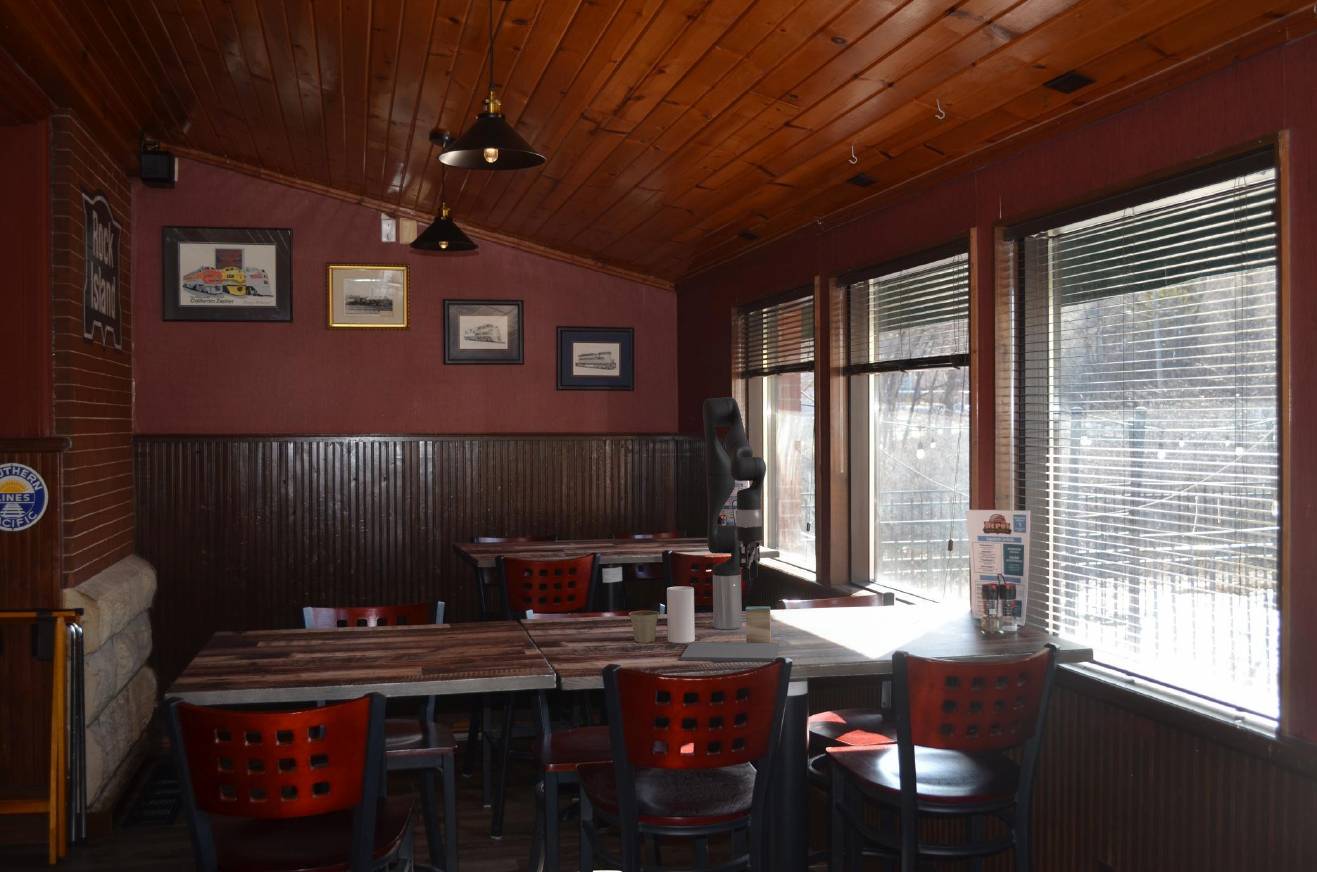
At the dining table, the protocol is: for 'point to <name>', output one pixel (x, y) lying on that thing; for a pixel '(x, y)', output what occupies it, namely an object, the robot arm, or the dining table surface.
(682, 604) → the white cylinder
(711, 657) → the mat
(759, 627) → the block
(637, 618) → the flower pot
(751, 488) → the robot arm
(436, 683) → the dining table surface
